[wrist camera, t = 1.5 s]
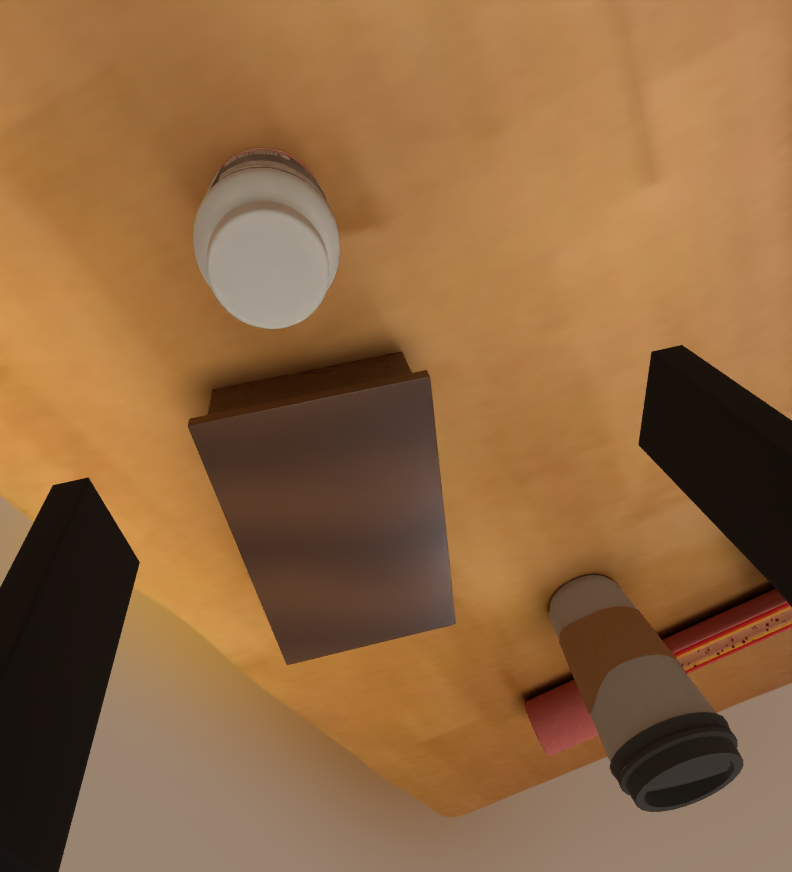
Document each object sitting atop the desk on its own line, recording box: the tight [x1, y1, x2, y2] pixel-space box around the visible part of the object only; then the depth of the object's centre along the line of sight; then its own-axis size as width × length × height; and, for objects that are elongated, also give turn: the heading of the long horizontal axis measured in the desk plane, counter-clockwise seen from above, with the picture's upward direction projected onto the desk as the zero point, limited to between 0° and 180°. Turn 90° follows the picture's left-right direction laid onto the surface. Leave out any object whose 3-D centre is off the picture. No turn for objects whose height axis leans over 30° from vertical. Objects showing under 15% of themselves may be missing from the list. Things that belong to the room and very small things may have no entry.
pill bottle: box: [193, 148, 340, 329], centre depth 22 cm, size 5×5×10 cm
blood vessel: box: [525, 589, 792, 756], centre depth 51 cm, size 42×5×5 cm, turn 117°
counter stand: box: [188, 352, 456, 665], centre depth 35 cm, size 20×12×4 cm, turn 8°
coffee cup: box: [549, 575, 743, 812], centre depth 41 cm, size 8×8×15 cm
